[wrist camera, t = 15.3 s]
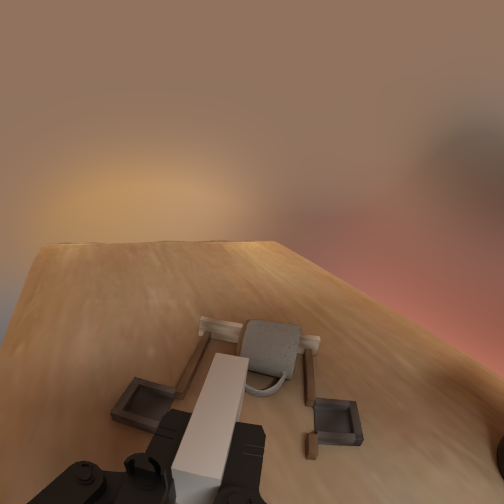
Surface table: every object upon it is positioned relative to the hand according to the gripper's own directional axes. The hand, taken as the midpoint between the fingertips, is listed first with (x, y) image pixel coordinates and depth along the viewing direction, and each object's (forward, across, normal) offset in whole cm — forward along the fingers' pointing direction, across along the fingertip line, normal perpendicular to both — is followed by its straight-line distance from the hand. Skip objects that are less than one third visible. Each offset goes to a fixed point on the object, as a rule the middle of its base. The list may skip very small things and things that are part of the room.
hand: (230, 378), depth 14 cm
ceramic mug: (+24, +2, -19) cm, 31 cm away
